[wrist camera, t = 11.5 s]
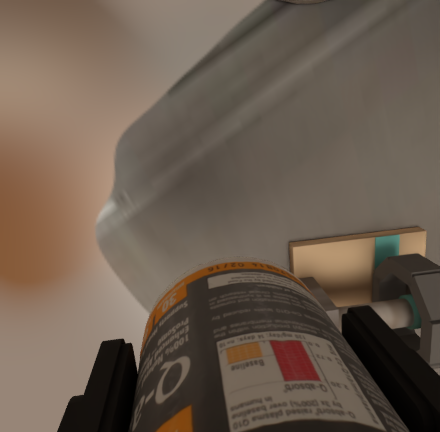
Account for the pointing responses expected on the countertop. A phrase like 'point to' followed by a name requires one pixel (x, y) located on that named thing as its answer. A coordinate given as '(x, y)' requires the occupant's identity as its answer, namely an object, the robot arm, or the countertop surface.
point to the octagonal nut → (422, 294)
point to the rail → (356, 272)
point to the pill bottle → (251, 359)
